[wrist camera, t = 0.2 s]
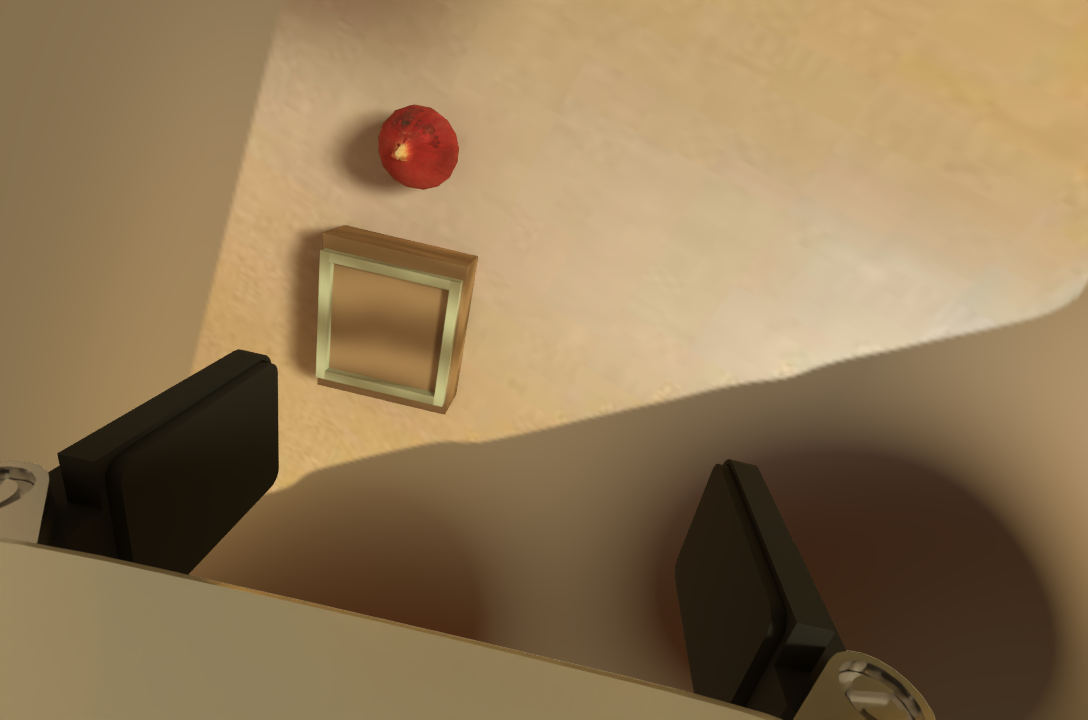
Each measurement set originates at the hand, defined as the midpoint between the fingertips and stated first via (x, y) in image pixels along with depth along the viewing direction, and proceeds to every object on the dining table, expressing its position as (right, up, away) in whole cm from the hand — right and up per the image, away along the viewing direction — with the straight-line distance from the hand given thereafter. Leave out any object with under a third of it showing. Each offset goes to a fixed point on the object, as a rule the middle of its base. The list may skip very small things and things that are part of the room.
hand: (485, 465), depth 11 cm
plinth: (-12, +6, +38) cm, 40 cm away
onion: (-8, +20, +32) cm, 38 cm away
